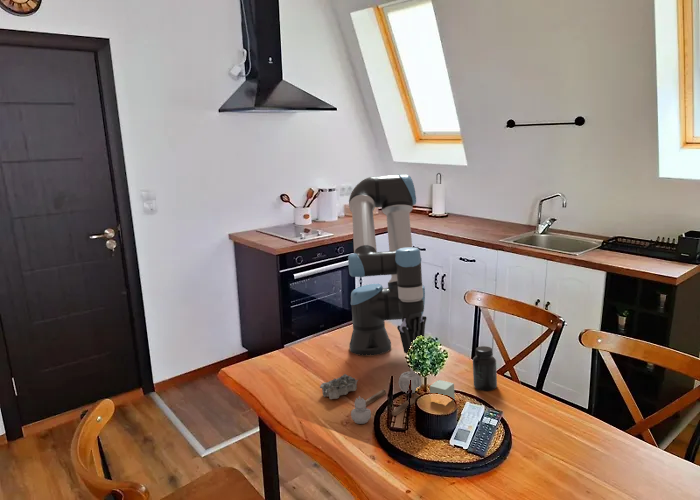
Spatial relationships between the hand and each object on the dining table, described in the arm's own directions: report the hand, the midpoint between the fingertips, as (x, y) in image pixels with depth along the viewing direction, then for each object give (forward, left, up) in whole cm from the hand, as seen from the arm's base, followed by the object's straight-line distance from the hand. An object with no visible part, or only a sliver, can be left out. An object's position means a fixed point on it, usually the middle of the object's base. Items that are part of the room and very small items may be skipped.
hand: (415, 372), depth 154 cm
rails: (+14, 0, -5) cm, 15 cm away
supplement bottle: (-11, +18, -5) cm, 21 cm away
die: (+3, 0, -5) cm, 6 cm away
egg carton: (+16, -14, -5) cm, 22 cm away
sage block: (+4, +12, -5) cm, 13 cm away
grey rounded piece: (+26, 0, -5) cm, 27 cm away
